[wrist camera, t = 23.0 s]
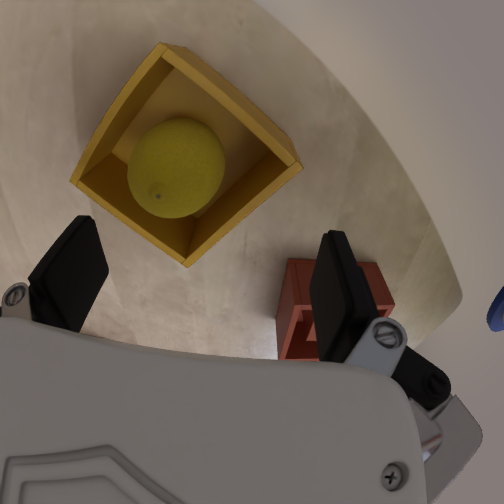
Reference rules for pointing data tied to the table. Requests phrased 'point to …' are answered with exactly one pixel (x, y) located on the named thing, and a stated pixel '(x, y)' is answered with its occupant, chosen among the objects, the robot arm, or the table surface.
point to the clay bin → (298, 299)
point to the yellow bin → (201, 109)
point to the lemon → (176, 167)
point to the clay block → (309, 325)
